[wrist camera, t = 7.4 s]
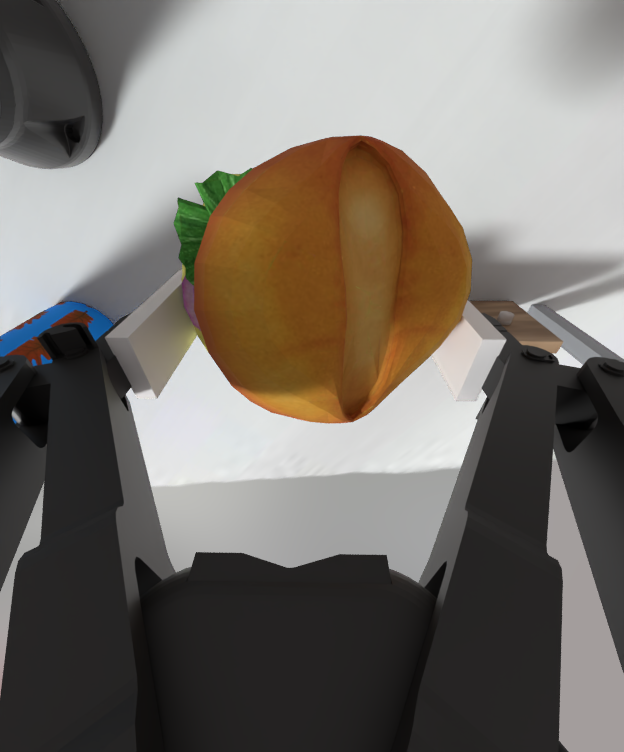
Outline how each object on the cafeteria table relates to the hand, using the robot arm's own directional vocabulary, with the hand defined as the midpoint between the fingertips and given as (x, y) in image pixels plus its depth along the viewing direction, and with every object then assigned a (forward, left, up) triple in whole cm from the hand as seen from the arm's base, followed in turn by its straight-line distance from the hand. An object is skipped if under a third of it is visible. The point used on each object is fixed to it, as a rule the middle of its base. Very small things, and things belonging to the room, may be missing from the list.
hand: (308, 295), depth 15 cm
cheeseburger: (0, -1, -2) cm, 2 cm away
